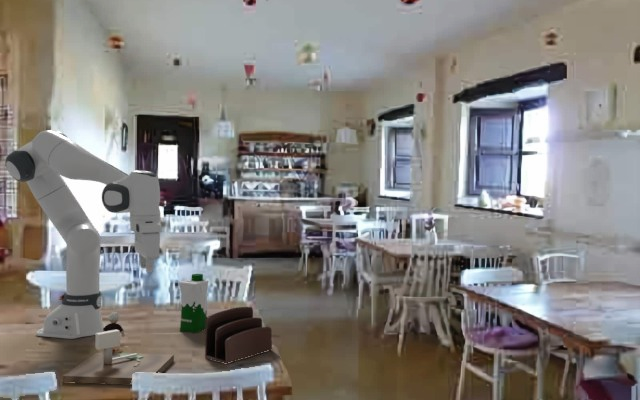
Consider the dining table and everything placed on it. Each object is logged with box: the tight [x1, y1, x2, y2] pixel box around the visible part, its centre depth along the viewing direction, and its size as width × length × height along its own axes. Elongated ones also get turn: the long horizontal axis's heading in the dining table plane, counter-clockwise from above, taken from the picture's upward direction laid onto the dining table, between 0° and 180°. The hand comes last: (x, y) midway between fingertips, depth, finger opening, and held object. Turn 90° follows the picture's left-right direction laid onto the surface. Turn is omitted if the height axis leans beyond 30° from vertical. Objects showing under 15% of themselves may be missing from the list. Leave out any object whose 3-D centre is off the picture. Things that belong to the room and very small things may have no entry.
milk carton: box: [178, 273, 209, 334], centre depth 226 cm, size 9×9×20 cm
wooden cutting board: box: [62, 351, 175, 385], centre depth 179 cm, size 24×22×2 cm
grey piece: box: [94, 329, 138, 364], centre depth 181 cm, size 12×2×9 cm, turn 135°
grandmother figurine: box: [103, 311, 126, 353], centre depth 199 cm, size 8×4×13 cm, turn 92°
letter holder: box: [204, 306, 273, 363], centre depth 197 cm, size 10×20×14 cm, turn 140°
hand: (146, 270), depth 188 cm, fingers open, 8 cm apart
